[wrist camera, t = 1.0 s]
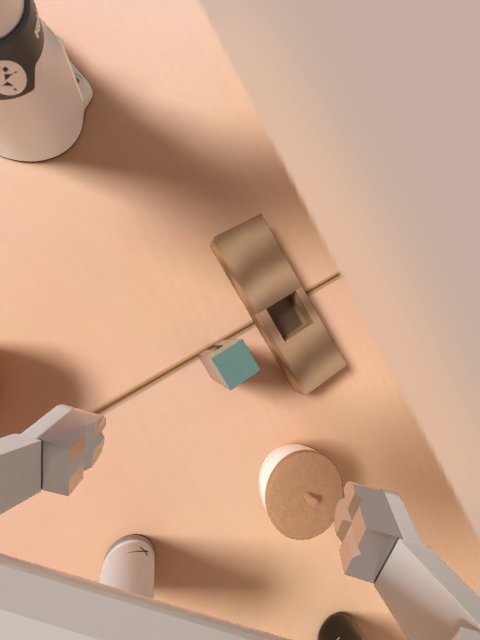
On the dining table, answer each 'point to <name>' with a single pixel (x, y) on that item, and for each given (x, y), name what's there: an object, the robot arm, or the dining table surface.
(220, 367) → the teal square peg
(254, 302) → the wooden peg hole block
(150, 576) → the travel mug
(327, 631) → the supplement bottle
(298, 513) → the lidded jar
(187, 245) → the dining table surface
